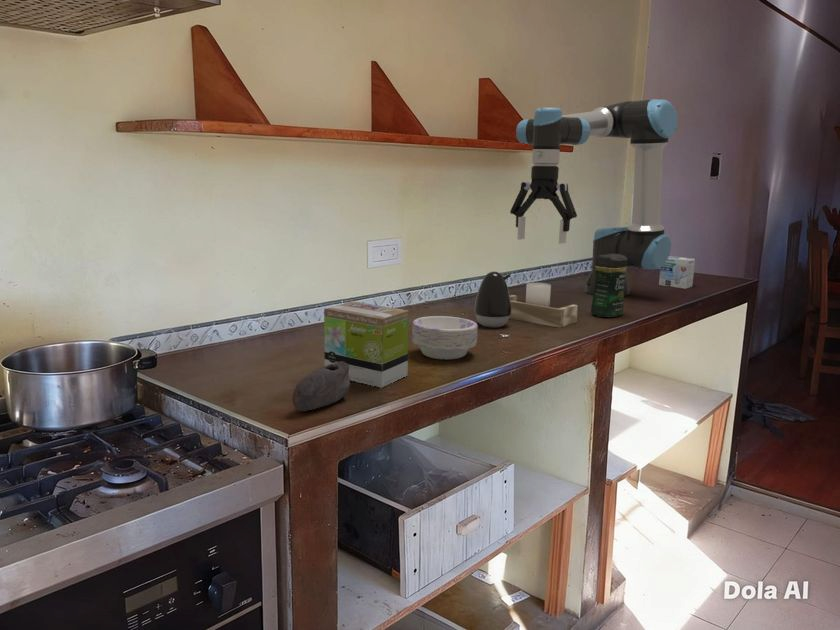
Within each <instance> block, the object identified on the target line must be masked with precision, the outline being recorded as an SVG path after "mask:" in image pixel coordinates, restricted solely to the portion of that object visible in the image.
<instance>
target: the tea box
mask: <svg viewBox="0 0 840 630" xmlns="http://www.w3.org/2000/svg"><path fill="white" fill-rule="evenodd" d="M409 313H410V311H409V310H408V309H402V308H396V307H390V306H384V305H378V304H377V305H376V304H370V303H365V302H359V301H354V300H352V301H348V302H344V303H341V304H339V305H334V306H330V307H328V308H324V309H323V318H324V319H323V328H324V329H323V332H324V340H323V341H324V342H323V343H324V349H323V351H324V352H323V353H324V354H323V355H324V356H323V357H324V367H325V366H327V365H330V364H334V363H337V362H340V361H343V362H345V363H347V364H348V365H349V379H350V382H354V381H355V383H359V384H362V383H363V385H366V384H367V385H366V386H370V385H371V387H374V386H377V387H384V386H386V385H388V384H390V383H392V384H394V383H393V382H395V381H397V380H398V379H401V378H403V377H405V378H406V376H407V377H408V369H409V367H408V364H409V330H410V329H409V327H410V325H409V320H410V318H409V317H410V316H409V315H410V314H409ZM403 379H404V378H403ZM401 380H402V379H401ZM397 382H398V381H397ZM395 383H396V382H395ZM390 385H391V384H390ZM388 386H389V385H388ZM377 387H376V388H377ZM386 387H387V386H386ZM384 388H385V387H384Z"/></svg>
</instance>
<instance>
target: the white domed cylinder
mask: <svg viewBox="0 0 840 630" xmlns="http://www.w3.org/2000/svg"><path fill="white" fill-rule="evenodd" d="M525 289H526V291H525V292H526V293H525V303H529V304H535V305H541V306H547V307H551V295H552V294H551V293H552V292H551V290H552V285H551V284H550V283H547V282H528V283H526V288H525Z"/></svg>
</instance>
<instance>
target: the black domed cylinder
mask: <svg viewBox="0 0 840 630" xmlns="http://www.w3.org/2000/svg"><path fill="white" fill-rule="evenodd" d="M510 277H511V273H510V272H508V273H506V274H504V275H502V274H501V273H500V272H499V271H490V272H488V273H487V274H486V275H484V277H483V279H482V281H481V283H480V286H479V288H478V291H477V295H476V298H475V303H474V311H473V312H474V314H475V318H476V321H477V322H478V323H479V324H480V325H481V326H483V327H484V328H485V327H486V328H494V329H495V328H501V327H503V326H505V325H506V324H507V323H508V321H509V319H510V318H509V317H510V315H511V300H510V291H509V288H508V287H509V286H508V284H507V282H506V280H507V279H509V278H510Z"/></svg>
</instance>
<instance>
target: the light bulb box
mask: <svg viewBox="0 0 840 630" xmlns="http://www.w3.org/2000/svg"><path fill="white" fill-rule="evenodd" d="M695 262H696V259H695V258H691V257H683V256H682V257H681V256H670V255H669V257H668V259H667V261H666V262H665V264H664V265H663V266H662V267H660V268H659V270H660V271H659V281H658V286H664V287H669V286H670V287H671V288H678V289H684V290H685V289H689V288H692V287H693V282H694V274H695V264H696V263H695Z"/></svg>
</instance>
